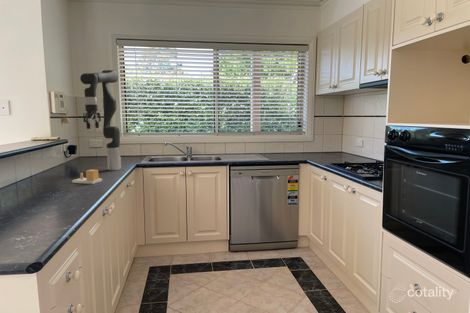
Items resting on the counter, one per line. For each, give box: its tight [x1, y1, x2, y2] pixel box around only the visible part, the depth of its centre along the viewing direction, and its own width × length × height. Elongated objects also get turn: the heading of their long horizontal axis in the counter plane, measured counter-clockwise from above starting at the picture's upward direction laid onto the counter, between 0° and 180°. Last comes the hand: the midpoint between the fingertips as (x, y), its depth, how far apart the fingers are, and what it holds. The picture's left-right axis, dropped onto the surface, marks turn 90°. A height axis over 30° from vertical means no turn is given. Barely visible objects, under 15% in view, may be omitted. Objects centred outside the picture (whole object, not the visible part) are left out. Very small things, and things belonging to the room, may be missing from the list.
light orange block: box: [85, 169, 100, 181], centre depth 202 cm, size 5×5×6 cm
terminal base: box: [71, 172, 103, 185], centre depth 203 cm, size 9×15×6 cm, turn 76°
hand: (93, 128), depth 216 cm, fingers open, 8 cm apart
